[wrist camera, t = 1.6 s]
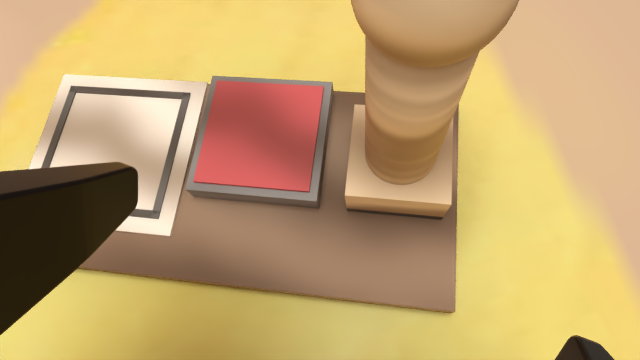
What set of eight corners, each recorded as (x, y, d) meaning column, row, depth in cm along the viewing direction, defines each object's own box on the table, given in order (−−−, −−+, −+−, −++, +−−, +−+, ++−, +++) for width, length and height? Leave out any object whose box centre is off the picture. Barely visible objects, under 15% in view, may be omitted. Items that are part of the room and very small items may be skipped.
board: (450, 313, 20) (461, 309, 18) (13, 260, 23) (-24, 252, 21) (455, 107, 24) (464, 83, 22) (76, 85, 27) (50, 62, 25)
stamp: (441, 219, 21) (584, -3, 7) (346, 211, 21) (317, -10, 8) (444, 134, 22) (566, -180, 9) (355, 128, 23) (343, -175, 9)
